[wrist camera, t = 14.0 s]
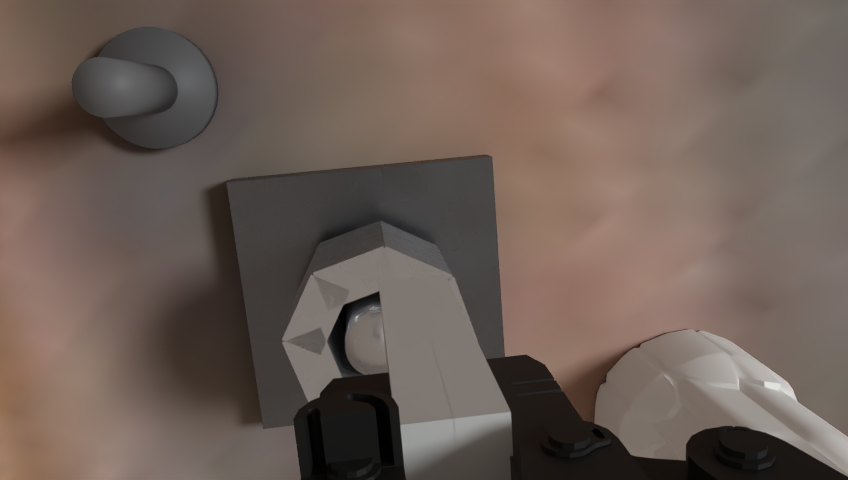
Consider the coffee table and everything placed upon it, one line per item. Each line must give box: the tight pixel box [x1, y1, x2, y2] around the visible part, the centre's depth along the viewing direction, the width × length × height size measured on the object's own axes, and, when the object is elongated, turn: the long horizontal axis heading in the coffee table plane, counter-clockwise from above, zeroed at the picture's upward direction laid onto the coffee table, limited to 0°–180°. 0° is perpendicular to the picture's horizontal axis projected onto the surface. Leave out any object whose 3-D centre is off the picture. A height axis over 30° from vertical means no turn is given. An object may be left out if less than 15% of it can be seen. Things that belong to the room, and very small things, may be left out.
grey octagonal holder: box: [282, 221, 478, 402], centre depth 33 cm, size 8×8×6 cm
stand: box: [72, 27, 218, 149], centre depth 31 cm, size 6×6×8 cm
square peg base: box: [226, 155, 505, 429], centre depth 34 cm, size 14×14×9 cm
